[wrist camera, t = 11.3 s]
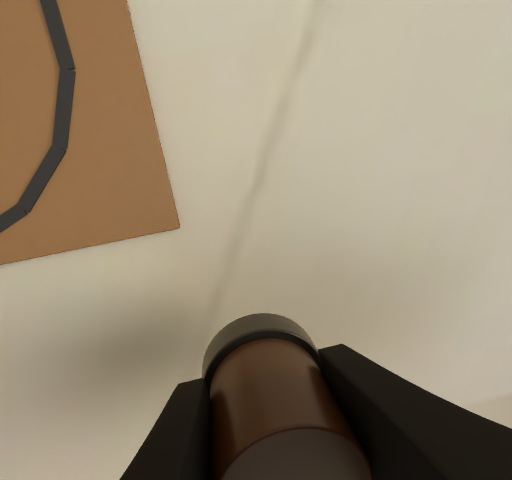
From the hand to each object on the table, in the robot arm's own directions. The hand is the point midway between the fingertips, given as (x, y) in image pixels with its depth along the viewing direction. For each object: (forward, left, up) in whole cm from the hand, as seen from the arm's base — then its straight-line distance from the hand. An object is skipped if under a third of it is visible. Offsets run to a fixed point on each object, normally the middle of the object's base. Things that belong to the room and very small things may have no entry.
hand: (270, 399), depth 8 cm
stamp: (0, 0, -1) cm, 1 cm away
